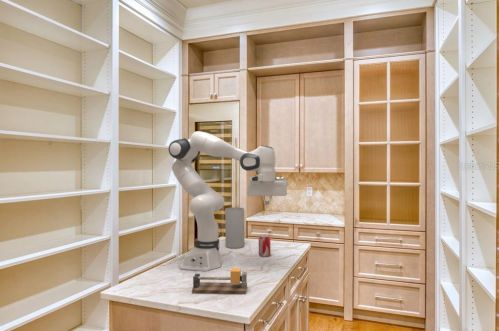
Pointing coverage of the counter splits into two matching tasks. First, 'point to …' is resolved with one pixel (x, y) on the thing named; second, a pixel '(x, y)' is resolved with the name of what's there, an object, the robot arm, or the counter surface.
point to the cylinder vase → (234, 227)
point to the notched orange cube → (235, 275)
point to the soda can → (264, 245)
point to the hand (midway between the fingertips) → (267, 204)
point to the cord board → (219, 285)
